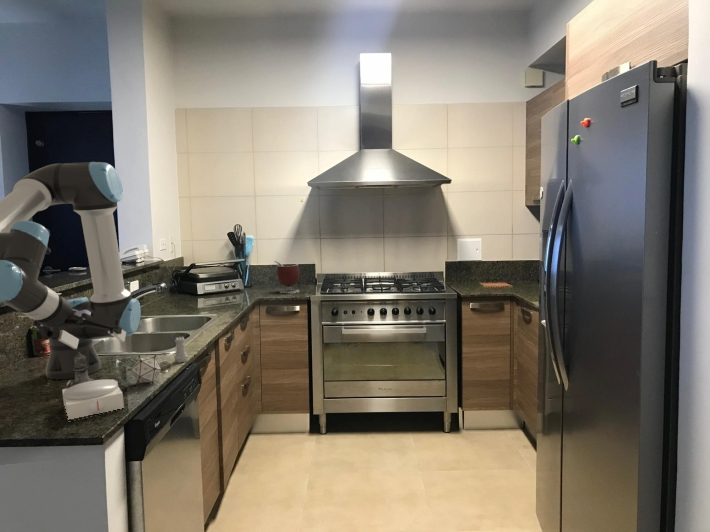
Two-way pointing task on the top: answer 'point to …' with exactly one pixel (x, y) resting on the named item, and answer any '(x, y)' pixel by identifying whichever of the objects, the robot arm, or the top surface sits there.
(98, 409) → the kitchen scale
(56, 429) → the top surface
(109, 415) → the top surface
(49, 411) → the top surface
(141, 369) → the game die
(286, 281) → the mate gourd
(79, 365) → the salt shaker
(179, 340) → the rook chess piece
